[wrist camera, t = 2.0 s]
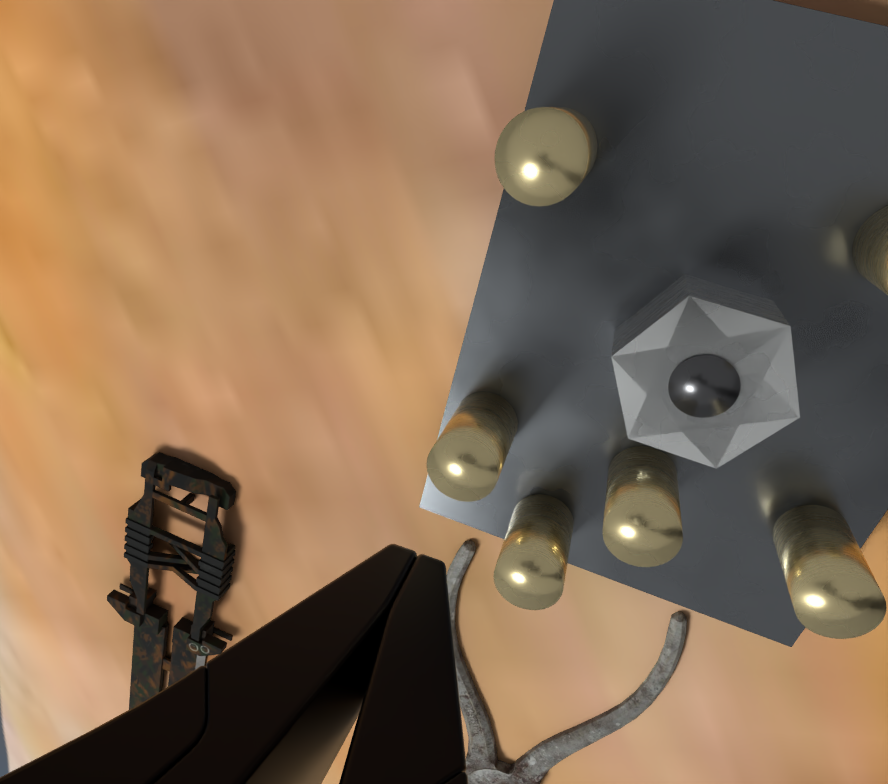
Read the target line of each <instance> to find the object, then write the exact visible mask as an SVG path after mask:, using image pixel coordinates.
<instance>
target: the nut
mask: <svg viewBox="0 0 888 784" xmlns="http://www.w3.org/2000/svg"><path fill="white" fill-rule="evenodd" d="M611 357H612V362H613V367H614V372H615V377H616V382H617V387H618V392H619V397H620V402H621V407H622V411H623V416H624V421H625V426H626V431H627V436H628V439H631V440H634V441H637V442H640V443H643V444H646V445H649V446H652V447H654V448H657V449H660V450H663V451H666V452H669V453H672V454H675V455H678V456H681V457H684V458H687V459H690V460H693V461H696V462H698V463H701V464H704V465H707V466H710V467H713V468H716V469H717V468H718V467H720V466H722V465H723V464H725V463H726V462H728V461H730V460H731V459H733V458H735V457H736V456H738V455H740V454H741V453H743V452H744V451H746V450H748V449H749V448H751V447H753V446H754V445H756V444H757V443H759V442H761V441H762V440H764V439H766V438H767V437H769V436H771V435H772V434H774V433H775V432H777V431H779V430H780V429H782V428H784V427H785V426H787V425H789V424H790V423H792V422H793V421H795V420H797V419H798V418H800V412H799V402H798V392H797V383H796V373H795V364H794V354H793V345H792V335H791V326H790V325H789V323H788V322H787V320H786V319H785V317H784V316H783V314H782V313H781V311H780V310H779V309H778V307H777V306H776V304H775V303H774V301H773V300H769V299H766V298H762V297H759V296H756V295H752V294H749V293H746V292H742V291H739V290H736V289H732V288H729V287H725V286H722V285H719V284H715V283H712V282H709V281H705V280H702V279H699V278H695V277H692V276H688V275H685V274H684V275H682V276H681V277H680V278H679V279H677V280H676V281H675V282H674V283H672V284H671V285H670V286H669V287H667V288H666V289H665V290H664V291H662V292H661V293H660V294H659V295H657V296H656V297H655V298H654V299H652V300H651V301H650V302H649V303H647V304H646V305H645V306H644V307H642V308H641V309H640V310H639V311H638V312H636V313H635V314H634V315H633V316H631V317H630V318H629V319H628V320H626V321H625V322H624V323H623V324H621V325H620V326H619V327H618V328H616V329H615V331H614V339H613V347H612V355H611Z"/></svg>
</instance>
